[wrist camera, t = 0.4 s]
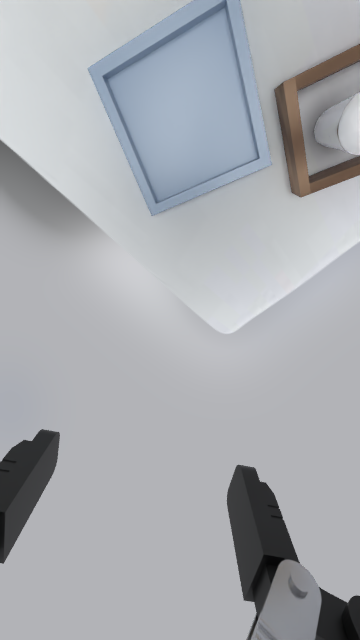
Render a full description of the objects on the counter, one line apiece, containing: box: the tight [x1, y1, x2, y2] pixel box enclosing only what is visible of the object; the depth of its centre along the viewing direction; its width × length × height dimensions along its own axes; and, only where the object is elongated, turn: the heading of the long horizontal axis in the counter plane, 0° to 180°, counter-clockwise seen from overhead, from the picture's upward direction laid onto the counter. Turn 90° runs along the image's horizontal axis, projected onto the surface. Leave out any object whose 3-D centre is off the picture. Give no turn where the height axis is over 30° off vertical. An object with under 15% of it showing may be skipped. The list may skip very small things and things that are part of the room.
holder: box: [275, 44, 360, 197], centre depth 26 cm, size 10×10×4 cm
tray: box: [88, 0, 272, 216], centre depth 27 cm, size 14×14×2 cm
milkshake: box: [314, 91, 360, 155], centre depth 23 cm, size 4×5×10 cm
